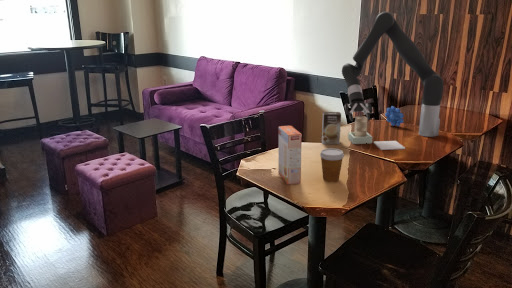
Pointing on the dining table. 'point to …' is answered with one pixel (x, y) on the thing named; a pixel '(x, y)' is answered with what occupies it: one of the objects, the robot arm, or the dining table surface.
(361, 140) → the sage holder
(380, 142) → the grey mat
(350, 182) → the dining table surface
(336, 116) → the coffee box
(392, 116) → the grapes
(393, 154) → the dining table surface
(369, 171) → the dining table surface
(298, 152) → the cracker box
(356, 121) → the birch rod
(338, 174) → the disposable coffee cup
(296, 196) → the dining table surface
